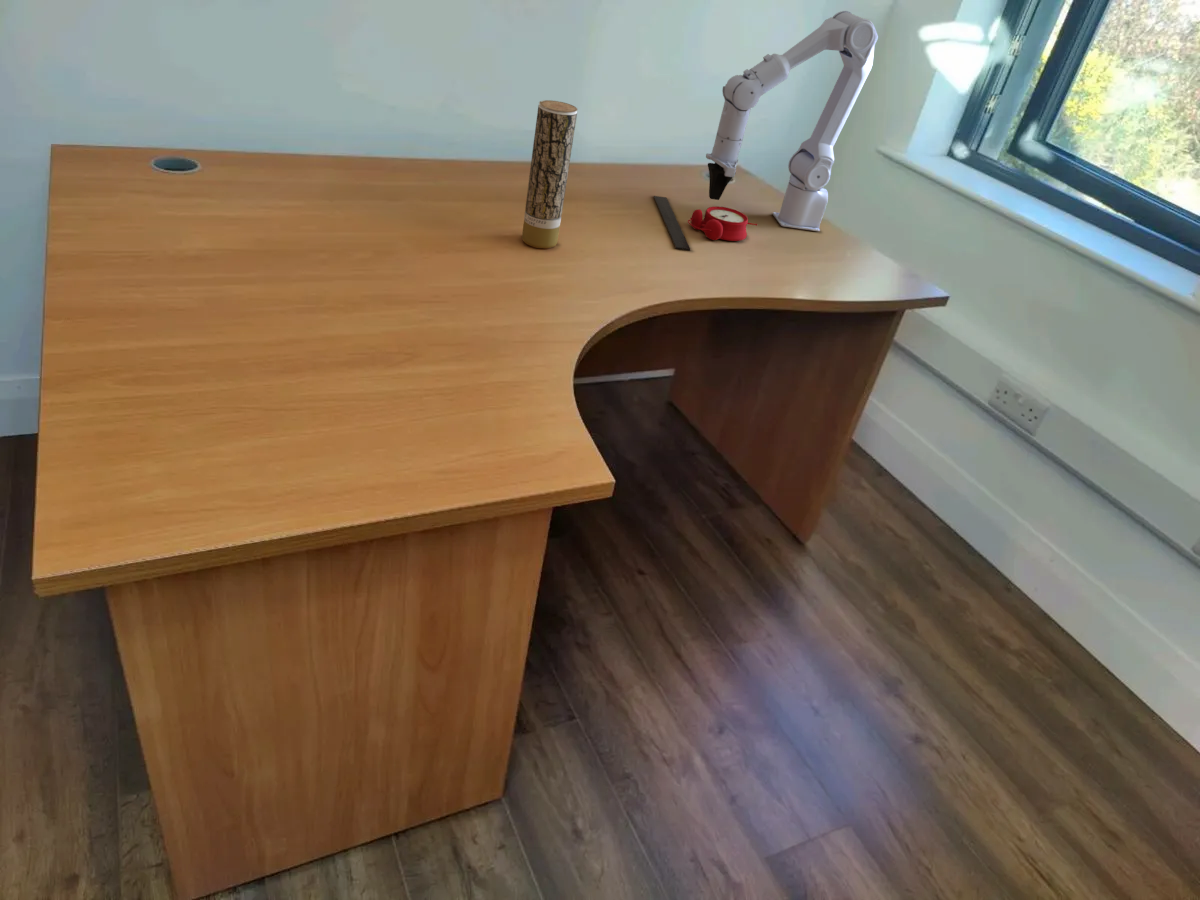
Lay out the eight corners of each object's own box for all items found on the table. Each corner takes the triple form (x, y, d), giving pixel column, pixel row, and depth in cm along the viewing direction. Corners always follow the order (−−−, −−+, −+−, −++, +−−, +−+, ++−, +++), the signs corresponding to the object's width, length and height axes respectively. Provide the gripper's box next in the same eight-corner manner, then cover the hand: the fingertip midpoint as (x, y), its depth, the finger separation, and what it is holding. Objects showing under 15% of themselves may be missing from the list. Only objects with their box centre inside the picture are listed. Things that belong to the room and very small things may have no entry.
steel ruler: (665, 199, 193) (666, 197, 192) (689, 250, 169) (690, 249, 168) (653, 197, 192) (653, 195, 192) (675, 249, 168) (676, 247, 168)
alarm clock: (764, 224, 179) (716, 211, 169) (751, 251, 181) (704, 240, 172) (733, 206, 185) (686, 193, 176) (721, 232, 188) (674, 221, 178)
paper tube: (551, 253, 155) (572, 114, 141) (516, 244, 156) (534, 105, 141) (560, 241, 161) (581, 106, 146) (527, 232, 161) (544, 97, 147)
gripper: (705, 124, 184) (690, 185, 191) (719, 144, 172) (703, 207, 180) (735, 129, 185) (720, 189, 193) (751, 148, 173) (734, 211, 181)
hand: (714, 198), depth 186 cm, fingers closed
